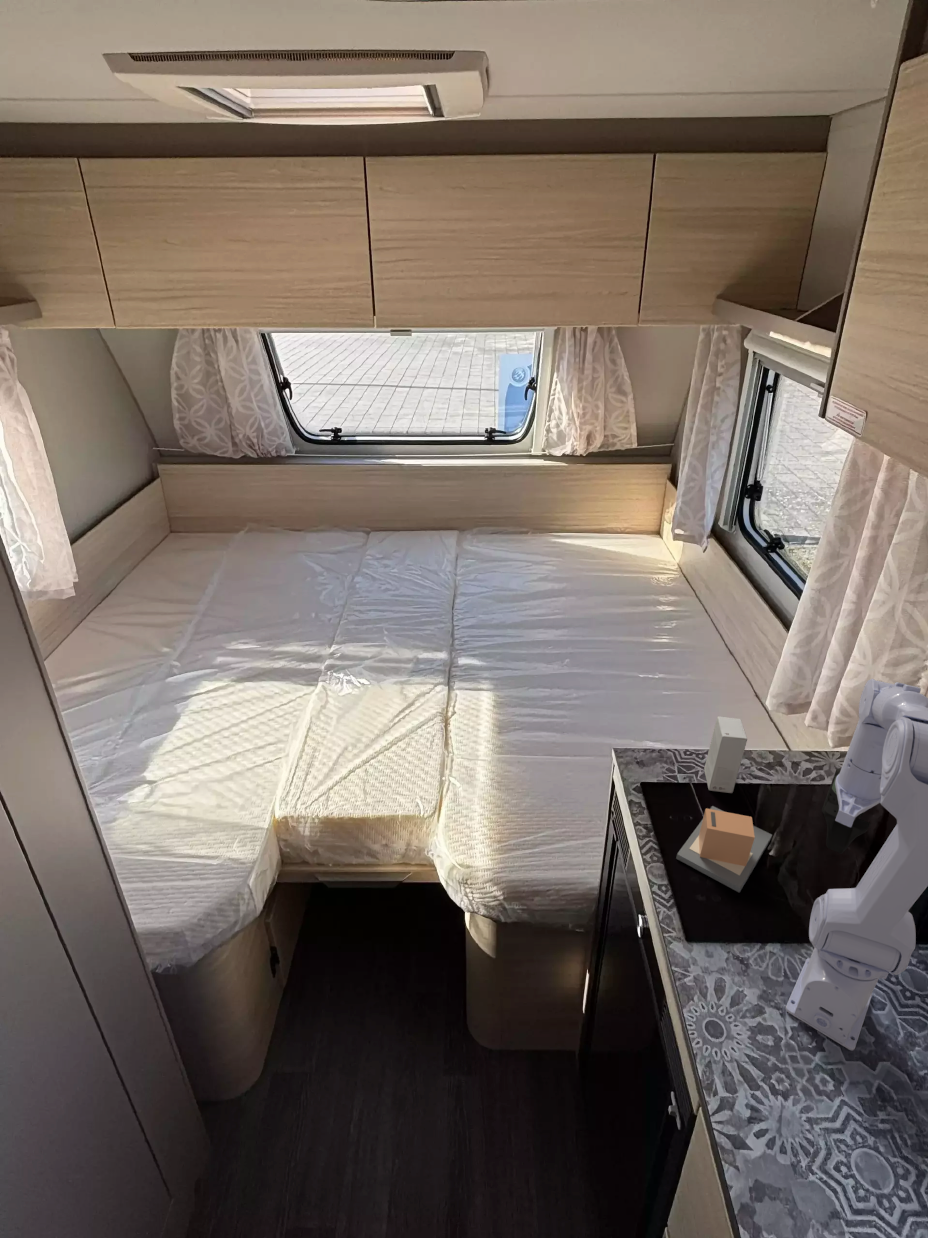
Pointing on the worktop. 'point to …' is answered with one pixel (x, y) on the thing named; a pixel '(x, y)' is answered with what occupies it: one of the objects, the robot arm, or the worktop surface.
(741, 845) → the plug housing
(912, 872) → the robot arm
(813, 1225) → the worktop surface
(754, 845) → the board
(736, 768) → the skincare box
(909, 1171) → the worktop surface
